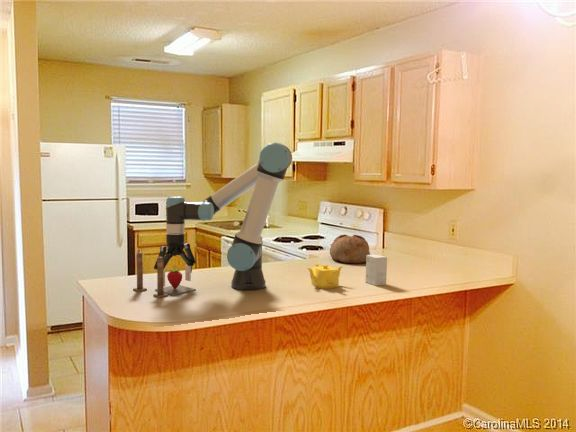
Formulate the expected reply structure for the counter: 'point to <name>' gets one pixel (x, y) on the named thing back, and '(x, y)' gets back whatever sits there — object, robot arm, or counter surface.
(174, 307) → the counter surface
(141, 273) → the post
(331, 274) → the teapot
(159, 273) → the post
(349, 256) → the bread
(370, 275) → the small box
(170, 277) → the strawberry
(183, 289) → the slate coaster
